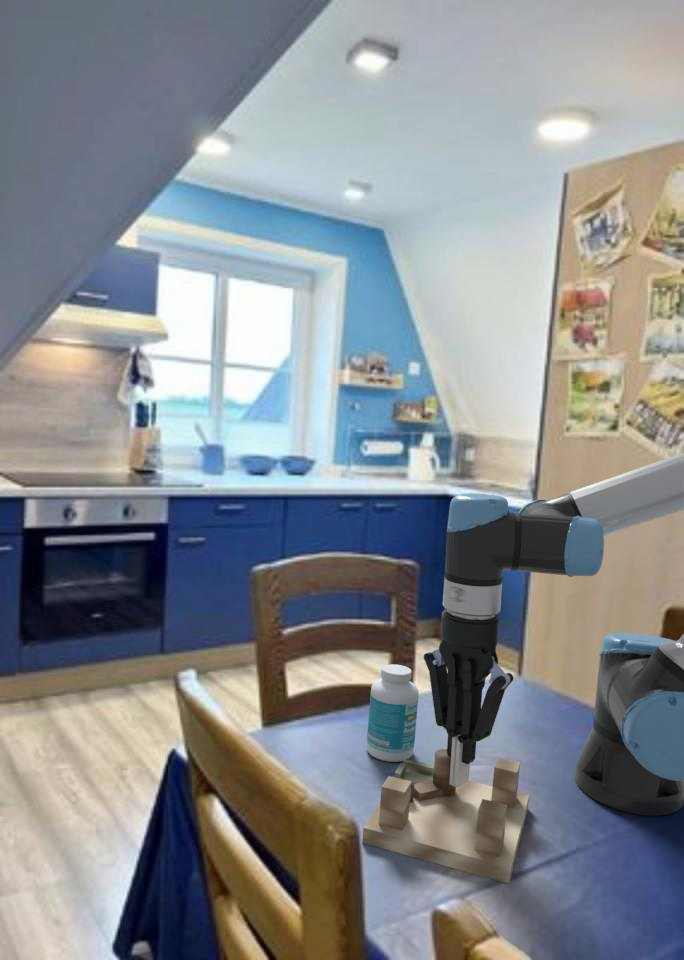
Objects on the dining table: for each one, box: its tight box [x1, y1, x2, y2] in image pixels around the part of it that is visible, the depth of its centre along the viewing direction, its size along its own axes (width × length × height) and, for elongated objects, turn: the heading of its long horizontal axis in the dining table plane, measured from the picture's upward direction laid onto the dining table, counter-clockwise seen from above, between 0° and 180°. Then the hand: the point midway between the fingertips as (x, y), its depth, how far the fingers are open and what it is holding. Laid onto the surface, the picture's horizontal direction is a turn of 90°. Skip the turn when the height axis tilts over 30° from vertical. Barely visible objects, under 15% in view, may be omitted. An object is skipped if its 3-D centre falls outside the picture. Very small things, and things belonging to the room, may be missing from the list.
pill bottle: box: [366, 663, 420, 763], centre depth 118 cm, size 8×7×14 cm
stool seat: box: [361, 757, 530, 885], centre depth 99 cm, size 18×18×7 cm
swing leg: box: [414, 748, 456, 800], centre depth 103 cm, size 6×3×5 cm, turn 117°
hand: (458, 782), depth 103 cm, fingers closed
